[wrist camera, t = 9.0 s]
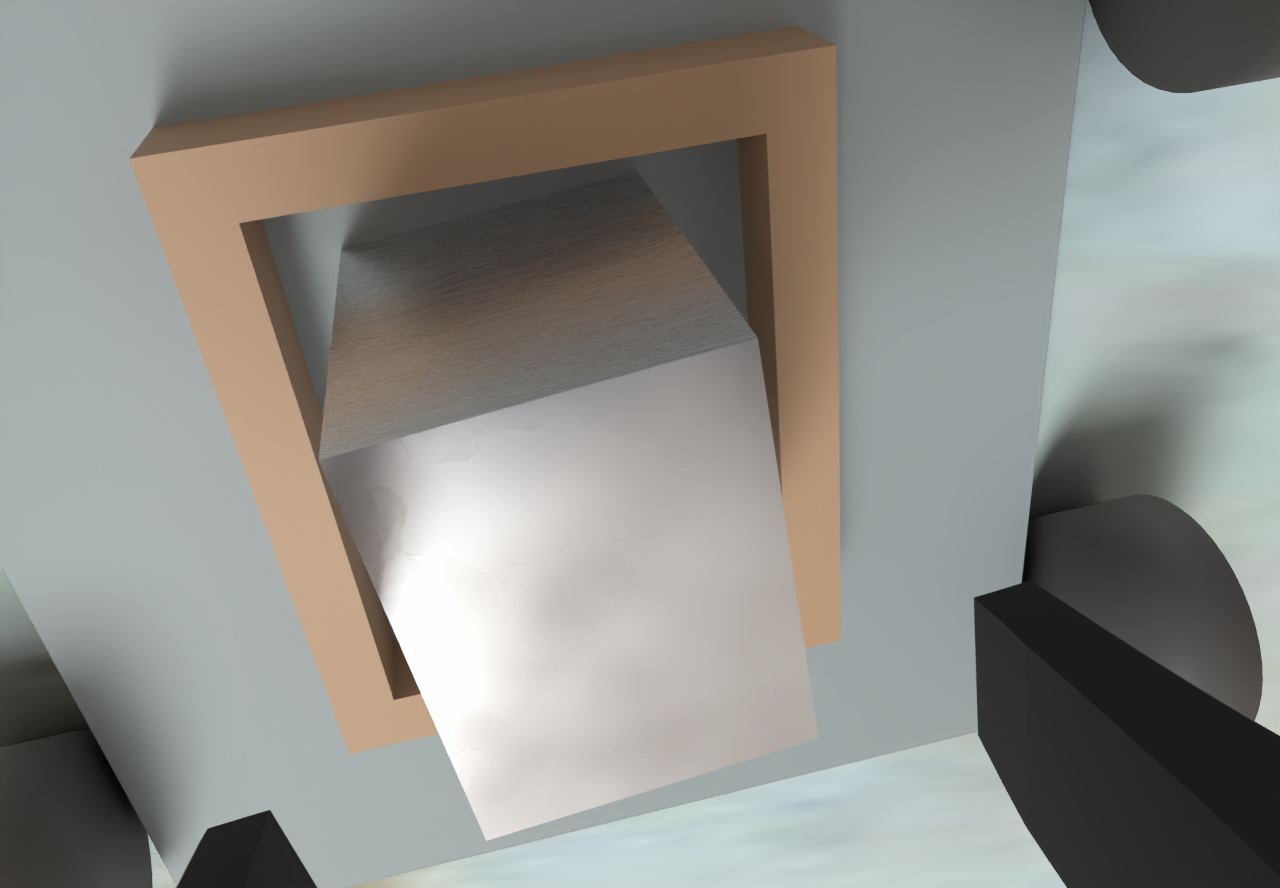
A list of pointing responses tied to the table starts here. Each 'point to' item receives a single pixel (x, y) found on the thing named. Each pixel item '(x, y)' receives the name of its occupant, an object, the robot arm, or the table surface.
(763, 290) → the chassis board
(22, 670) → the table surface
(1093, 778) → the robot arm
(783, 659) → the block
